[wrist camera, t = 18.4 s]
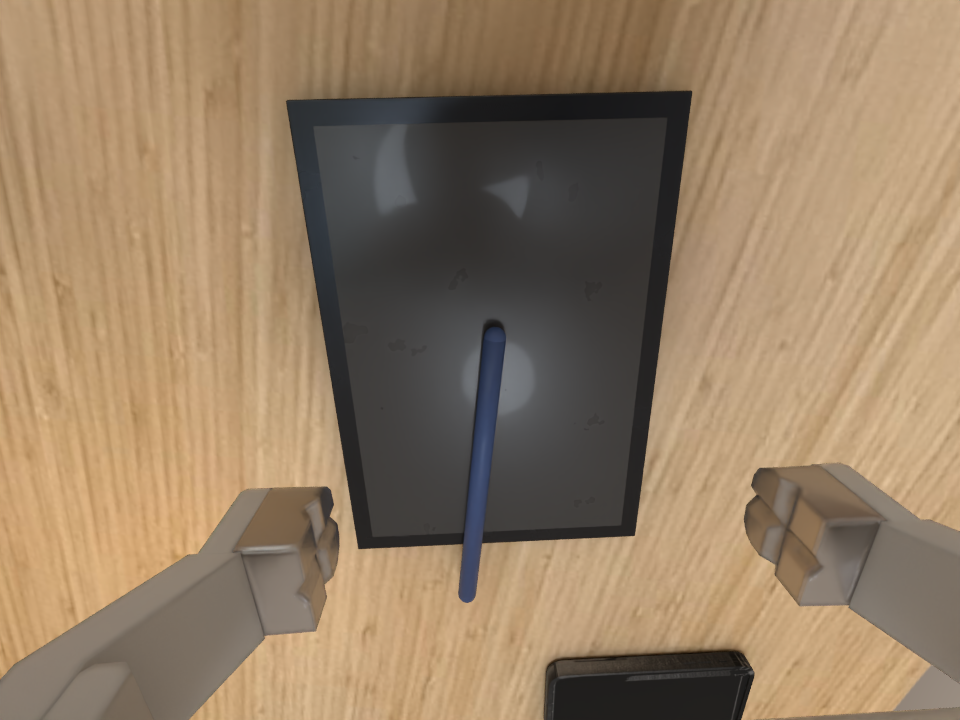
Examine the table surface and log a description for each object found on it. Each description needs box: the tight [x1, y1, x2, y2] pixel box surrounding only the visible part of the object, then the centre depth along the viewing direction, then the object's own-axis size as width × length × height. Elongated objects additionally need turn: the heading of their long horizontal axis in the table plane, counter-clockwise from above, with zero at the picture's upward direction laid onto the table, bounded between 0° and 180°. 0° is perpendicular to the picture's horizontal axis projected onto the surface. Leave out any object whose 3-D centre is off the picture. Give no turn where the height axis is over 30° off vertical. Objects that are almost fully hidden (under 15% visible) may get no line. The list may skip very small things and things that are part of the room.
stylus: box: [458, 327, 506, 603], centre depth 26 cm, size 1×1×18 cm
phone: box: [544, 652, 754, 720], centre depth 35 cm, size 8×1×15 cm
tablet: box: [286, 91, 692, 549], centre depth 24 cm, size 24×17×1 cm
